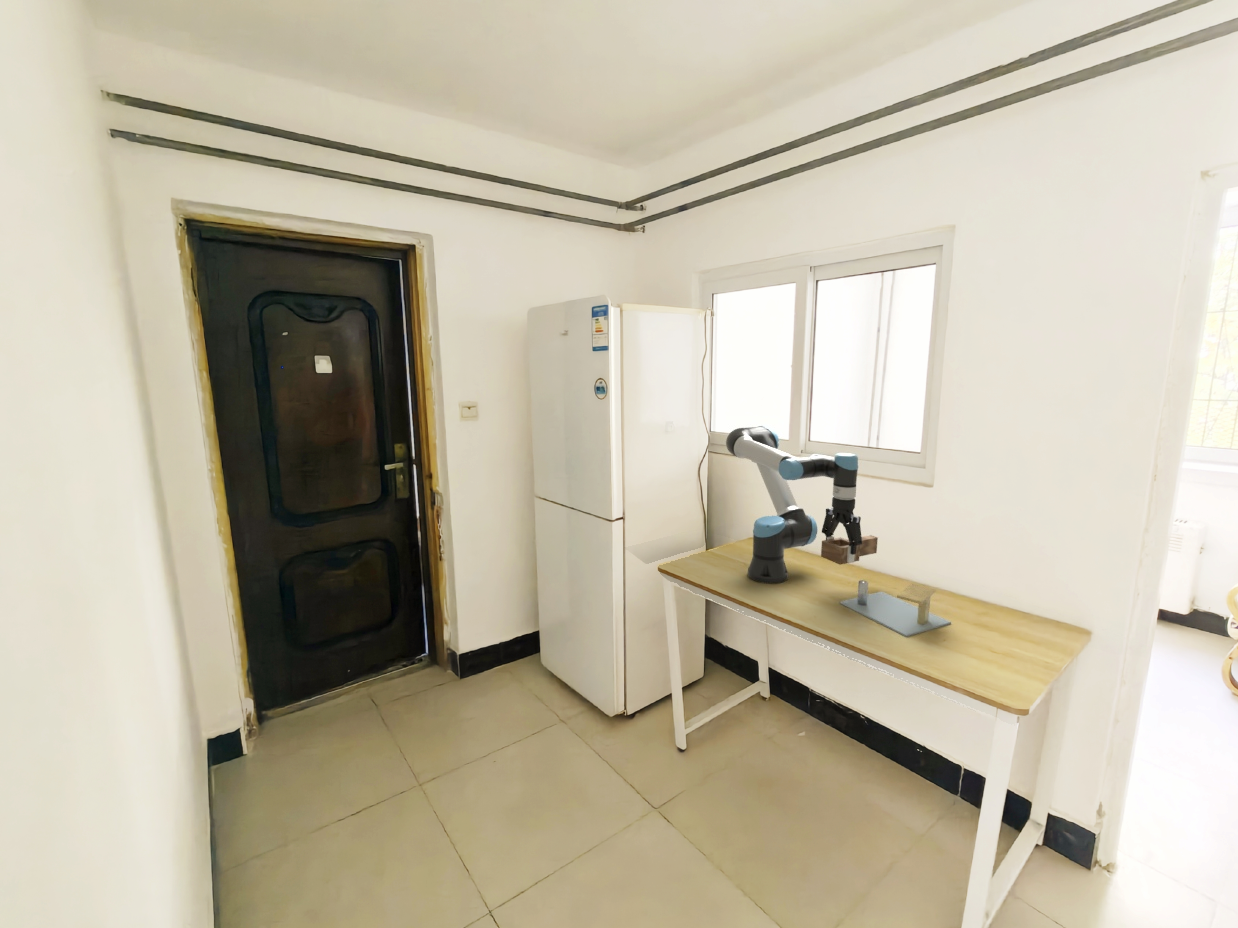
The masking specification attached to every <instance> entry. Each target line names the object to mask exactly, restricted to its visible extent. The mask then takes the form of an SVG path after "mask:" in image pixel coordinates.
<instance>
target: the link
mask: <svg viewBox="0 0 1238 928" xmlns="http://www.w3.org/2000/svg"><path fill="white" fill-rule="evenodd" d="M861 537H862V545H857V549H856V554H855V557H854V562H859V561H860V557H863V556H869V555H874V554H877V550H878V538H879V537H877V536H874V535H872V534H871V535H870V534H869V535H865V536H861ZM853 542H854V541H853ZM848 545H850V543H849V539H848V538H847V539H846V538H843V537H834V539H829V540H826V539H824V540H822V541H821V550H820V551H821V552H820V557H821V558H824V559H827V560H828V561H831V562H832V563H835V564H838V565H845V564H848V563H847V552H848ZM854 562H853V563H854Z"/></svg>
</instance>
